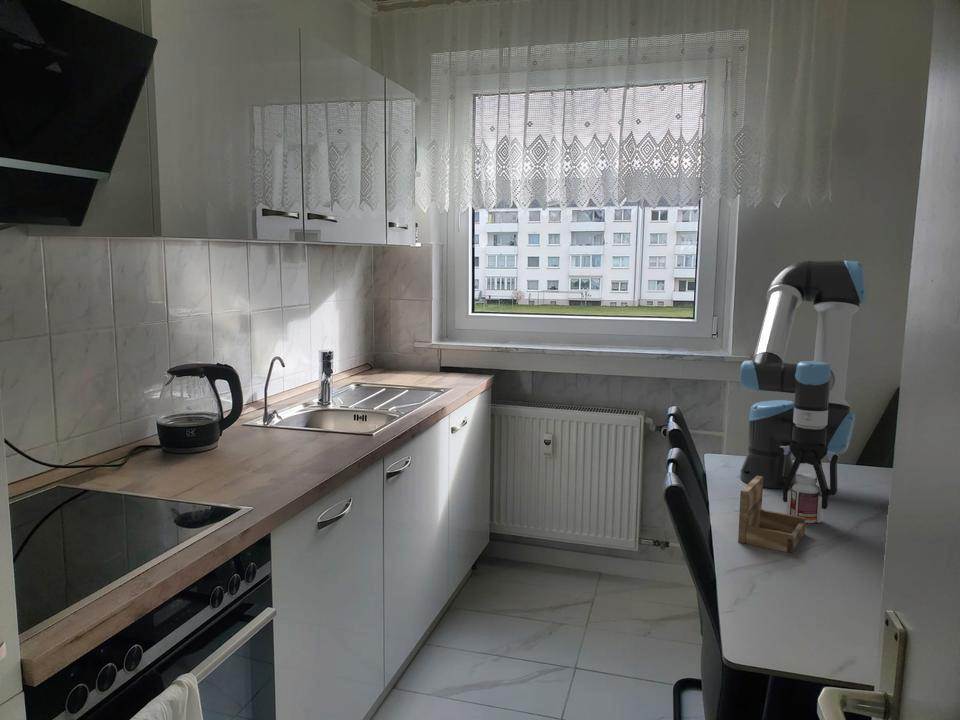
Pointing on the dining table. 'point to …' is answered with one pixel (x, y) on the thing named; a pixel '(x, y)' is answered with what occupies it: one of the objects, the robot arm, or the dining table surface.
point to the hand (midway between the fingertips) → (804, 517)
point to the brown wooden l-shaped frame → (766, 522)
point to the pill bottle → (805, 497)
